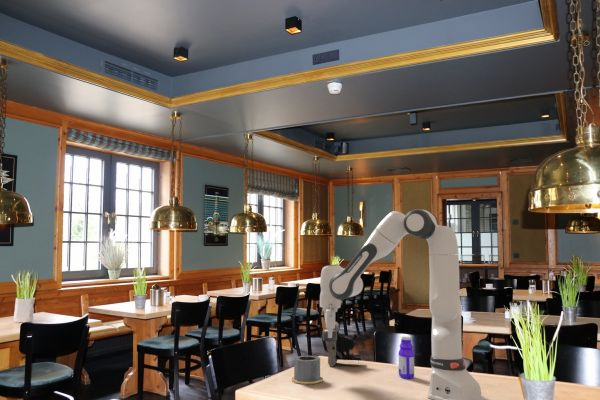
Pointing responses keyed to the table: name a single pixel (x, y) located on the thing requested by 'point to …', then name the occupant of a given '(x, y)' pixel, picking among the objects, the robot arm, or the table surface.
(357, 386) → the table surface
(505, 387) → the table surface
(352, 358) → the vintage camera
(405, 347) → the bottle
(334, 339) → the camera lens
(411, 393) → the table surface
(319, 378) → the lens barrel
